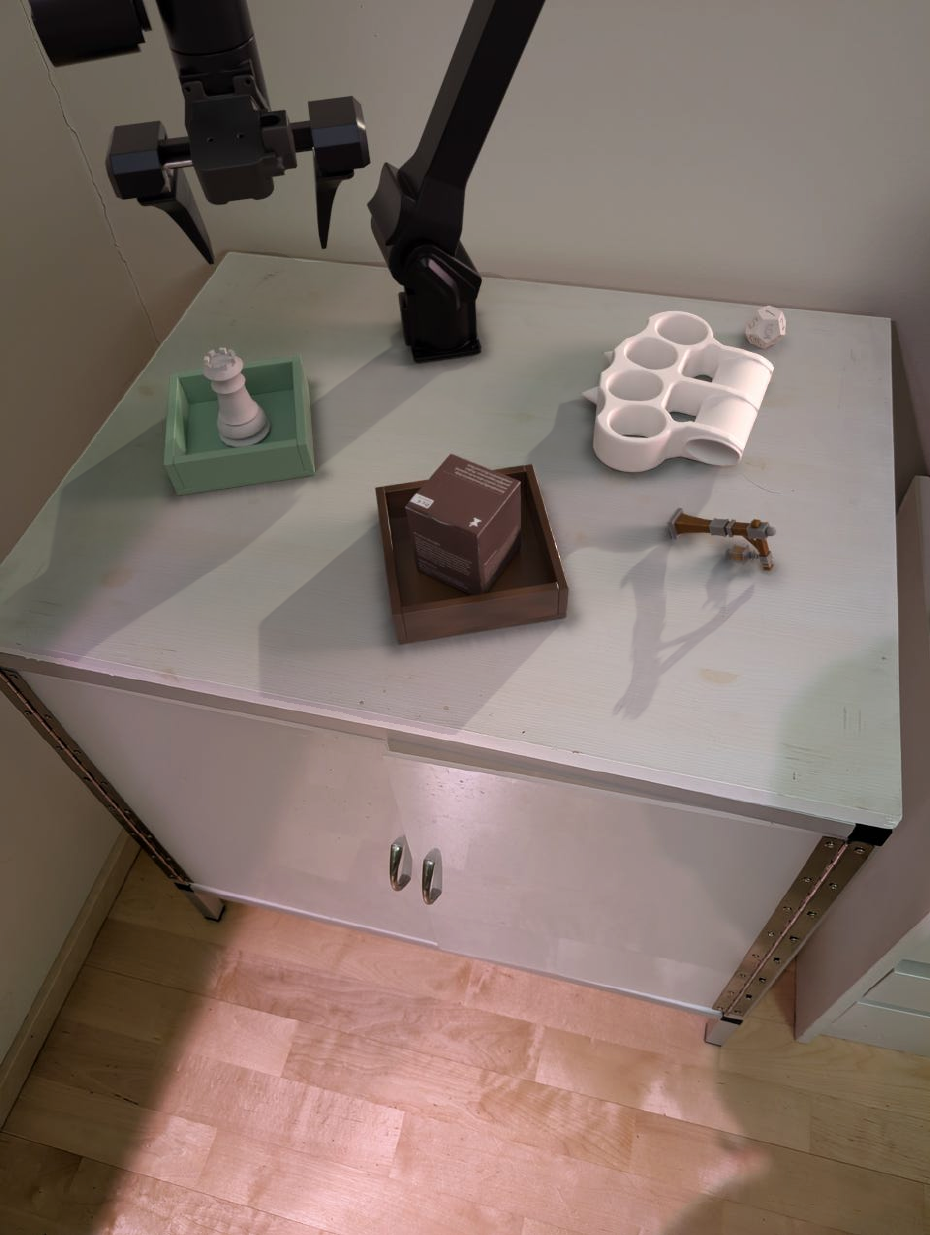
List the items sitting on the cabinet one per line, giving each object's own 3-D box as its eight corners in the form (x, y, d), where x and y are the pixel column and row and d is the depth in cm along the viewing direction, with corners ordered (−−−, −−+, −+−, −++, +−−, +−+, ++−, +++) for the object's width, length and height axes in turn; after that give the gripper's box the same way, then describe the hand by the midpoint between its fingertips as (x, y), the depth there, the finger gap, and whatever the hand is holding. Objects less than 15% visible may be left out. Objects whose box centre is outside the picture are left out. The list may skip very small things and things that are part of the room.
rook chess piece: (261, 453, 72) (235, 378, 65) (212, 448, 72) (182, 373, 66) (278, 418, 74) (255, 342, 67) (231, 413, 75) (203, 337, 68)
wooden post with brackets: (778, 578, 61) (768, 530, 58) (679, 563, 66) (666, 519, 63) (788, 562, 61) (779, 514, 59) (690, 549, 67) (677, 504, 64)
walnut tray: (532, 495, 68) (532, 463, 65) (566, 617, 61) (569, 588, 58) (381, 518, 67) (374, 487, 64) (398, 644, 60) (392, 616, 57)
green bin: (308, 386, 77) (300, 354, 74) (315, 475, 71) (306, 443, 68) (182, 405, 77) (169, 373, 74) (177, 495, 70) (162, 464, 67)
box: (523, 548, 64) (524, 481, 58) (482, 603, 61) (478, 538, 55) (456, 518, 66) (450, 450, 60) (413, 570, 63) (402, 504, 57)
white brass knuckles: (725, 500, 66) (553, 453, 71) (776, 364, 76) (621, 329, 80) (734, 470, 64) (554, 423, 68) (786, 332, 73) (625, 298, 77)
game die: (760, 358, 76) (768, 330, 74) (733, 337, 78) (740, 309, 76) (790, 345, 77) (799, 317, 75) (763, 324, 79) (771, 296, 77)
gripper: (55, 110, 51) (148, 329, 64) (359, 71, 52) (391, 295, 64) (75, 36, 57) (156, 249, 70) (346, 2, 58) (377, 219, 71)
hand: (268, 254), depth 69 cm, fingers open, 9 cm apart
